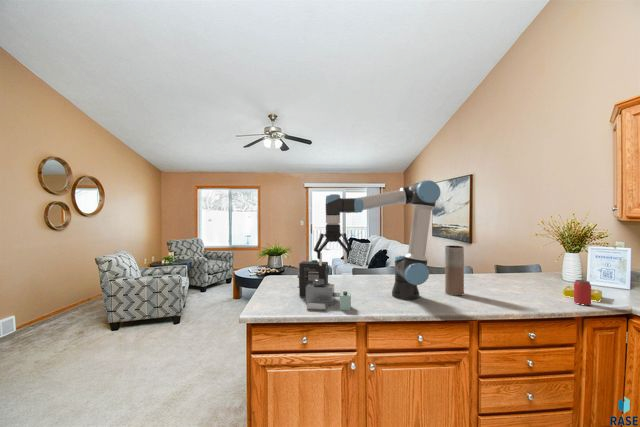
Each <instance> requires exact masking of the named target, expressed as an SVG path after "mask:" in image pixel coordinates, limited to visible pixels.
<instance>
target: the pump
mask: <svg viewBox="0 0 640 427" xmlns="http://www.w3.org/2000/svg"><path fill="white" fill-rule="evenodd" d="M340 293H341V294H340V297H339V311H351V308H352V293H351V292H348V291H346V290H345V291H343V292H340Z"/></svg>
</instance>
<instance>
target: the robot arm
mask: <svg viewBox="0 0 640 427" xmlns="http://www.w3.org/2000/svg"><path fill="white" fill-rule="evenodd" d="M440 197H441V188H440V186H439V184H437V182H435V181H433V180H429V179H428V180H426V179H425V180H421V181H419V182H415V183H413V184H411V185H408V186H404V187H401V188H400V189H397V190H392V191H387V192H381V193H377V194H372V195H371V194H370V195H366V196H360V197H356V198H355V197H354V198H353V197H352V198H351V197H350V198H349V197H348V198H343V197H342V198H341V195H340V194H338V193H337V194H335V193H334V194H333V193H331V194H326V195H325V224H326V225H325V233H322V232H321V233H319V236H318V237H319V238H318V240H317V242H316V244H315V245H314V248H313V252H315V253H316V255H317V256H316V258H317V259H318V262H319V265H320V266H322V262H323V256H322V255H323V253H322V251H323V250H324V249H325V247H326V246H327V245H328V243H333V242H335V243H336V242H337V243H338V244H339V245H340V246H341V247H342V249H343V250H344V251H343V264H344V265H347V264H348V258H349V253H350V251H352V250H353V248H352V246H351V244H350V242H349V240H348V238H347V233H346V232H342V233H341V225H340V224H341V213H346V214H351V213H354V214H355V213H356V214H358V213H362V212H363V211H366V210H372V209H376V208H377V209H378V208H383V207H387V206H394V205H399V204H403V205H409V204H411V207H413V214H412V223H411V229H410V234H409V237H410V238H409V241H408V242H409V243H408V250H407V253H406V254H405V255H397V256H395V257H394V283H393V284H394V285H393V287H392V290H391V296H392V297H394V298H396V299H401V300H407V299H412V300H417V299H416V298H418V299H419V298H420V291H419V288H418V286H420V285H423V284H425V282H427V280H428V279H429V277H430V272H429V267H427V266H428V258H427V257H426V250H427V245H428V244H427V243H428V236H429V230H430V222H431V214H432V211H433V210H434V209H435V208H436V204H437V201H438V200H439V198H440ZM341 237H342V239H343V241H344V242H345V244H344V242H343V241H342V240H341ZM324 238H325V239H324ZM323 239H324V241H323ZM322 241H323V243H322Z"/></svg>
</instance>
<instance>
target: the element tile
mask: <svg viewBox="0 0 640 427" xmlns="http://www.w3.org/2000/svg"><path fill="white" fill-rule="evenodd" d="M562 294H563V295H565V296H570V297H574V285H573V286H572V285H568V286H566V287H565V288H563V293H562ZM601 298H602V299H603V291H602V290H600V289H593V288H591V300H596V301H599V300H600V299H601ZM602 299H601V300H602Z"/></svg>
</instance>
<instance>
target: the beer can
mask: <svg viewBox="0 0 640 427" xmlns="http://www.w3.org/2000/svg"><path fill="white" fill-rule="evenodd" d="M573 286H574V299H573V302H574V303H575V302H576V303H579V304H584V305H590V304H591V305H592V302H591V289H592V285H591V282H590V280H589V281H588V280H585V279H584V280H582V279H575V281H574V283H573ZM576 303H575V304H576ZM591 305H590V306H591Z"/></svg>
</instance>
